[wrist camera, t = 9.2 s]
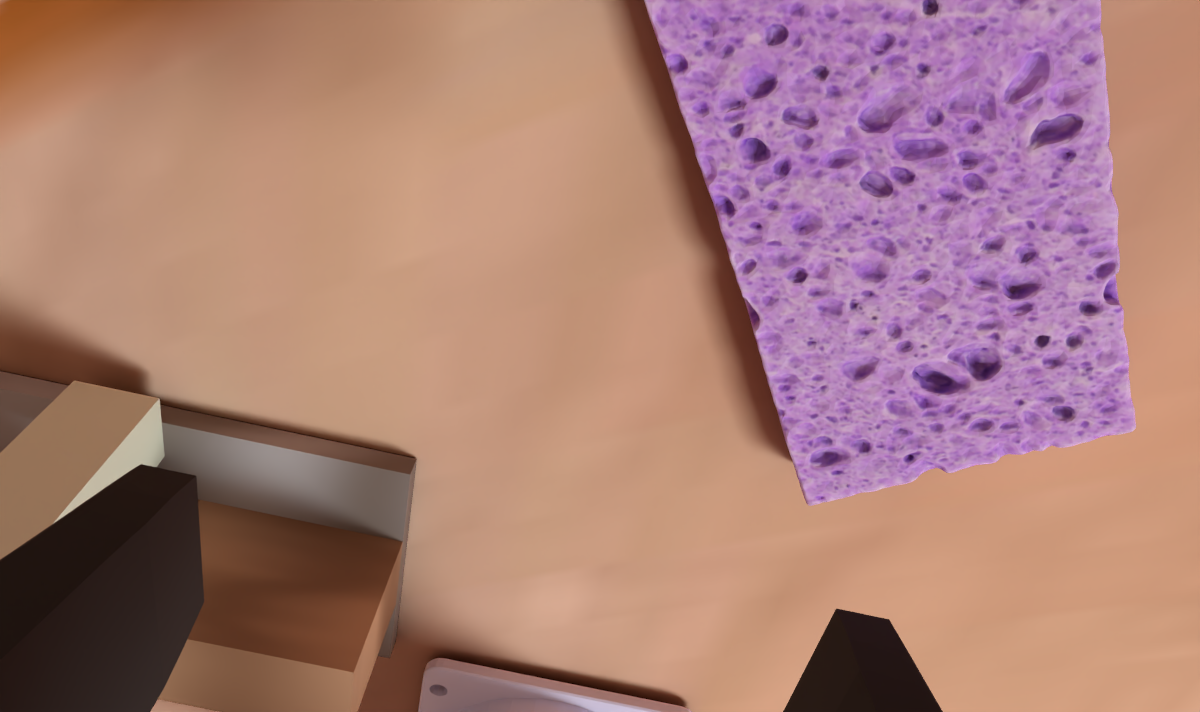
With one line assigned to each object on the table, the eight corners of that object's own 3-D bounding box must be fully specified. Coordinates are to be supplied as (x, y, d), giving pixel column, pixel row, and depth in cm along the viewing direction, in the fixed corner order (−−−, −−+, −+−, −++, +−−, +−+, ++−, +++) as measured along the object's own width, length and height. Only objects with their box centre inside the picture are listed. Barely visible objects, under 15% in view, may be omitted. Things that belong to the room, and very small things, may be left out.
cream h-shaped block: (179, 621, 25) (26, 875, 20) (108, 607, 25) (-66, 857, 20) (159, 398, 21) (-46, 637, 15) (74, 380, 21) (-165, 614, 15)
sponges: (795, 456, 22) (804, 509, 20) (621, -84, 16) (614, -69, 14) (1107, 386, 20) (1142, 437, 18) (1045, -253, 14) (1090, -258, 12)
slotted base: (416, 458, 22) (359, 602, 18) (395, 640, 26) (344, 791, 22) (-156, 338, 22) (-339, 460, 18) (-92, 542, 26) (-232, 679, 22)
